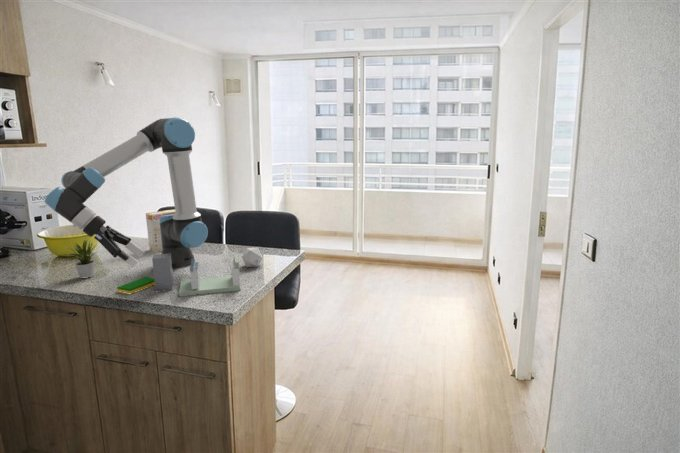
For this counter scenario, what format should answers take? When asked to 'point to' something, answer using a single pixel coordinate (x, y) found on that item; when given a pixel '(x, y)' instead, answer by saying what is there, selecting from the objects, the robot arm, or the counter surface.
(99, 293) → the counter surface
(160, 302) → the counter surface
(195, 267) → the sliding jaw
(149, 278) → the dish sponge
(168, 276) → the steel block
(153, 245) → the coffeecake box
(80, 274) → the house plant
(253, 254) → the die
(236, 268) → the vise bed
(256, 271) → the counter surface
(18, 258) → the counter surface
